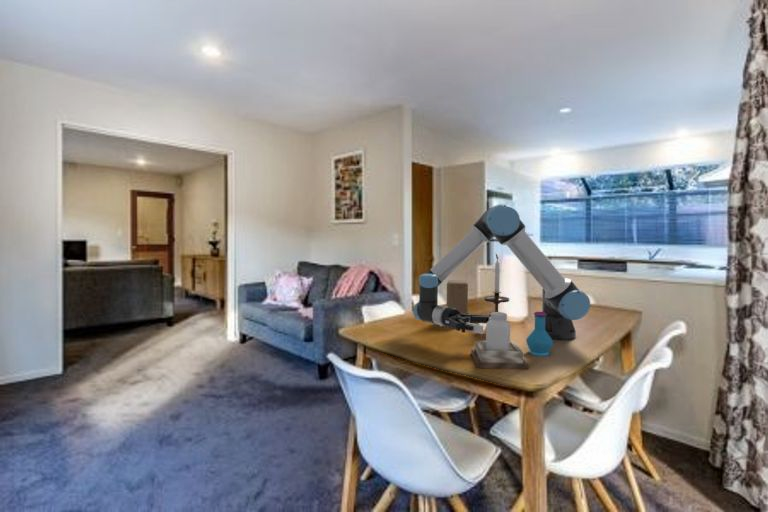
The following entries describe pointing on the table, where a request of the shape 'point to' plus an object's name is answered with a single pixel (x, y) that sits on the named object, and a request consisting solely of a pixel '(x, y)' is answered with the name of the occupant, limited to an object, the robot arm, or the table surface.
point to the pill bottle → (498, 333)
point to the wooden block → (458, 295)
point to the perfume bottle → (539, 337)
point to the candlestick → (496, 289)
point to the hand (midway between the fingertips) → (494, 326)
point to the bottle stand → (498, 357)
